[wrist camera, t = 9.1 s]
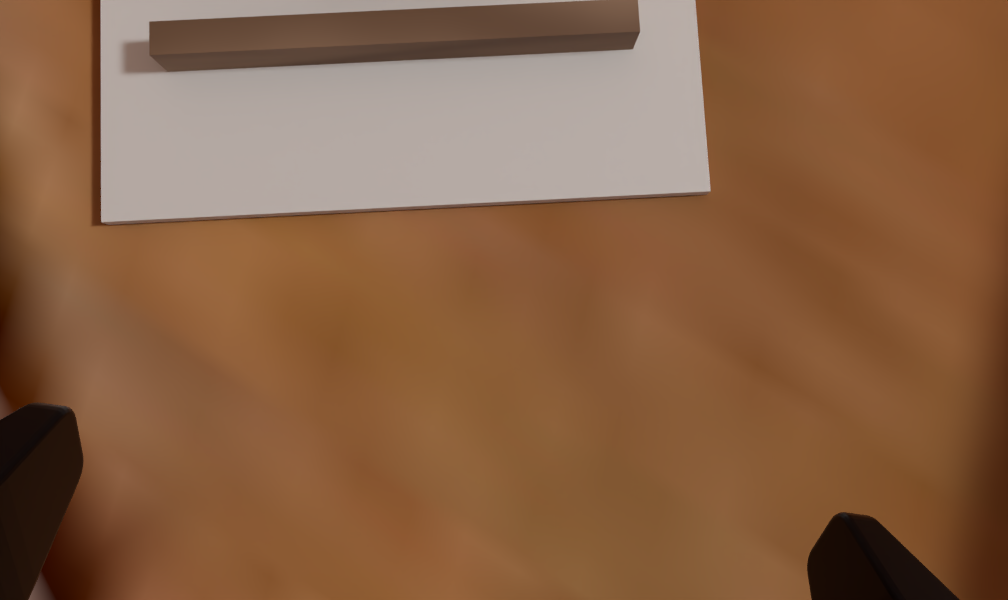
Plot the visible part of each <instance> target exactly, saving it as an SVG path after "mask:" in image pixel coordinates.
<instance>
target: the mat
mask: <svg viewBox="0 0 1008 600" xmlns="http://www.w3.org/2000/svg"><path fill="white" fill-rule="evenodd" d="M569 1H590V0H101V222H102V223H105V224H107V225H115V224H135V223H154V222H174V221H194V220H213V219H233V218H253V217H273V216H292V215H312V214H332V213H351V212H371V211H391V210H411V209H430V208H450V207H470V206H489V205H509V204H529V203H548V202H568V201H588V200H608V199H627V198H647V197H667V196H686V195H706V194H708V193H709V192H710V191H711V190H710V178H709V166H708V153H707V141H706V128H705V116H704V104H703V91H702V79H701V66H700V54H699V41H698V29H697V17H696V4H695V0H638V8H639V22H640V33H639V36H638V38H637V41H636V43H635V45H634V48H633V49H630V50H609V51H588V52H568V53H547V54H526V55H506V56H485V57H465V58H444V59H423V60H403V61H382V62H361V63H341V64H320V65H300V66H279V67H258V68H238V69H217V70H196V71H176V72H167V71H166V70H165V69H164V68H163V67H162V66H161V65H160V64H158V63H157V62H156V61H155V60H154V59H153V58H152V57H151V56H150V55H149V22H150V21H171V20H192V19H213V18H234V17H254V16H275V15H296V14H317V13H338V12H359V11H380V10H401V9H422V8H443V7H464V6H485V5H506V4H527V3H548V2H569Z"/></svg>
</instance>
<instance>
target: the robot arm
mask: <svg viewBox="0 0 1008 600" xmlns="http://www.w3.org/2000/svg"><path fill="white" fill-rule="evenodd" d="M82 469H83V453H82V447H81V442H80V437H79V432H78V426H77V421H76V417H75V414H74V412H73V411H72V409H71V408H69V407H66V406H60V405H53V404H46V403H31V404H28V405H26V406H24V407H22V408H20V409H18V410H17V411H15V412H13V413H11V414H10V415H8V416H6V417H5V418H3V419H1V420H0V600H28V599H29V597H30V595H31V593H32V590H33V588H34V586H35V584H36V581H37V579H38V577H39V574H40V572H41V569H42V567H43V565H44V562H45V560H46V558H47V555H48V553H49V550H50V548H51V546H52V543H53V541H54V539H55V536H56V534H57V532H58V529H59V527H60V524H61V522H62V520H63V517H64V515H65V513H66V510H67V508H68V505H69V503H70V501H71V498H72V496H73V494H74V491H75V489H76V486H77V484H78V482H79V479H80V476H81V473H82ZM807 571H808V579H809V585H810V592H811V598H812V600H959V599H958V598H957V597H956V596H955V595H954V594H953V593H952V592H951V591H950V590H949V589H948V588H947V587H946V586H945V585H944V584H943V583H942V582H941V581H940V580H939V579H937V578H936V577H935V576H934V575H933V574H932V573H931V572H930V571H929V570H928V569H927V568H926V567H925V566H924V565H923V564H922V563H921V562H920V561H919V560H918V559H917V558H916V557H915V556H914V555H913V554H912V553H910V552H909V551H908V550H907V549H906V548H905V547H904V546H903V545H902V544H901V543H900V542H899V541H898V540H897V539H896V538H895V537H894V536H893V535H892V534H891V533H890V532H889V531H888V530H887V529H886V528H885V527H883V526H882V525H881V524H880V523H879V522H878V521H877V520H876V519H874V518H873V517H870V516H867V515H860V514H853V513H846V512H841V513H838V514H836V515H835V516H833V518H832V519H831V520H830V522H829V524H828V525H827V527H826V528H825V530H824V531H823V533H822V534H821V536H820V538H819V539H818V541H817V542H816V544H815V545H814V547H813V548H812V550H811V552H810V555H809V558H808V564H807Z"/></svg>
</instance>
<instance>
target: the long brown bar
mask: <svg viewBox="0 0 1008 600" xmlns="http://www.w3.org/2000/svg"><path fill="white" fill-rule="evenodd" d="M639 33H640V22H639V8H638V0H590V1H569V2H548V3H527V4H506V5H485V6H464V7H443V8H422V9H401V10H380V11H359V12H338V13H317V14H296V15H275V16H254V17H234V18H213V19H192V20H171V21H150V22H149V55H150V56H151V57H152V58H153V59H154V60H155V61H156V62H157V63H158V64H160V65H161V66H162V67H163V68H164V69H165V70H166V71H167V72H176V71H196V70H217V69H238V68H258V67H279V66H300V65H320V64H341V63H361V62H382V61H403V60H423V59H444V58H465V57H485V56H506V55H526V54H547V53H568V52H588V51H609V50H630V49H633V48H634V45H635V43H636V41H637V38H638V36H639Z"/></svg>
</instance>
